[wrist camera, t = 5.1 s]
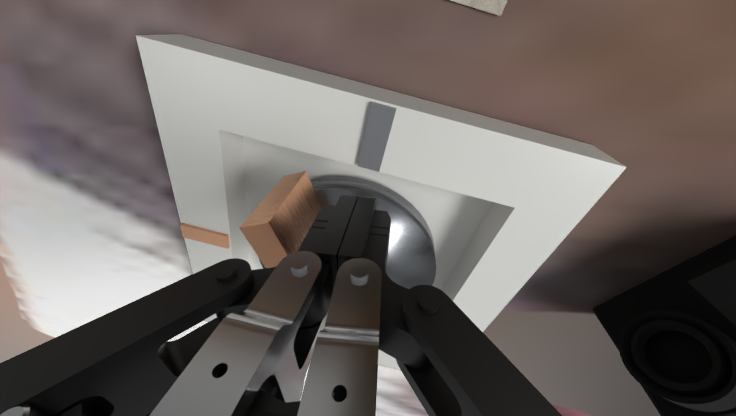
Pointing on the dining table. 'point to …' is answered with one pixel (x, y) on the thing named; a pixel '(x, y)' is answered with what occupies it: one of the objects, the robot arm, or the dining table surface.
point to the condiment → (485, 5)
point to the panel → (364, 164)
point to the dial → (307, 197)
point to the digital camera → (681, 334)
